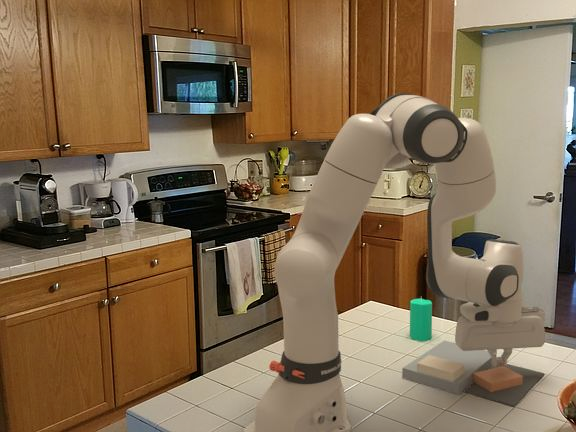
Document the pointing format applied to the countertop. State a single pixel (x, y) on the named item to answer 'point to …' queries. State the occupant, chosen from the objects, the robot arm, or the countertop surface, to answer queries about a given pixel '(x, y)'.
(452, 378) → the cream tile
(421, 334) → the candle
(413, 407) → the countertop surface
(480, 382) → the terracotta tile
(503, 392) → the mat
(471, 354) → the platform
